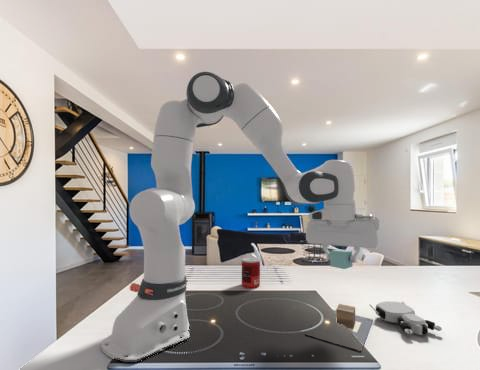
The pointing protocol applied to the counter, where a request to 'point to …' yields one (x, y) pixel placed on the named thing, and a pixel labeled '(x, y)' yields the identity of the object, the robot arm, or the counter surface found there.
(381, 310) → the robot toy
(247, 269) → the canned food
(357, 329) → the mat
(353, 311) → the walnut block
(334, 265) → the teal block
